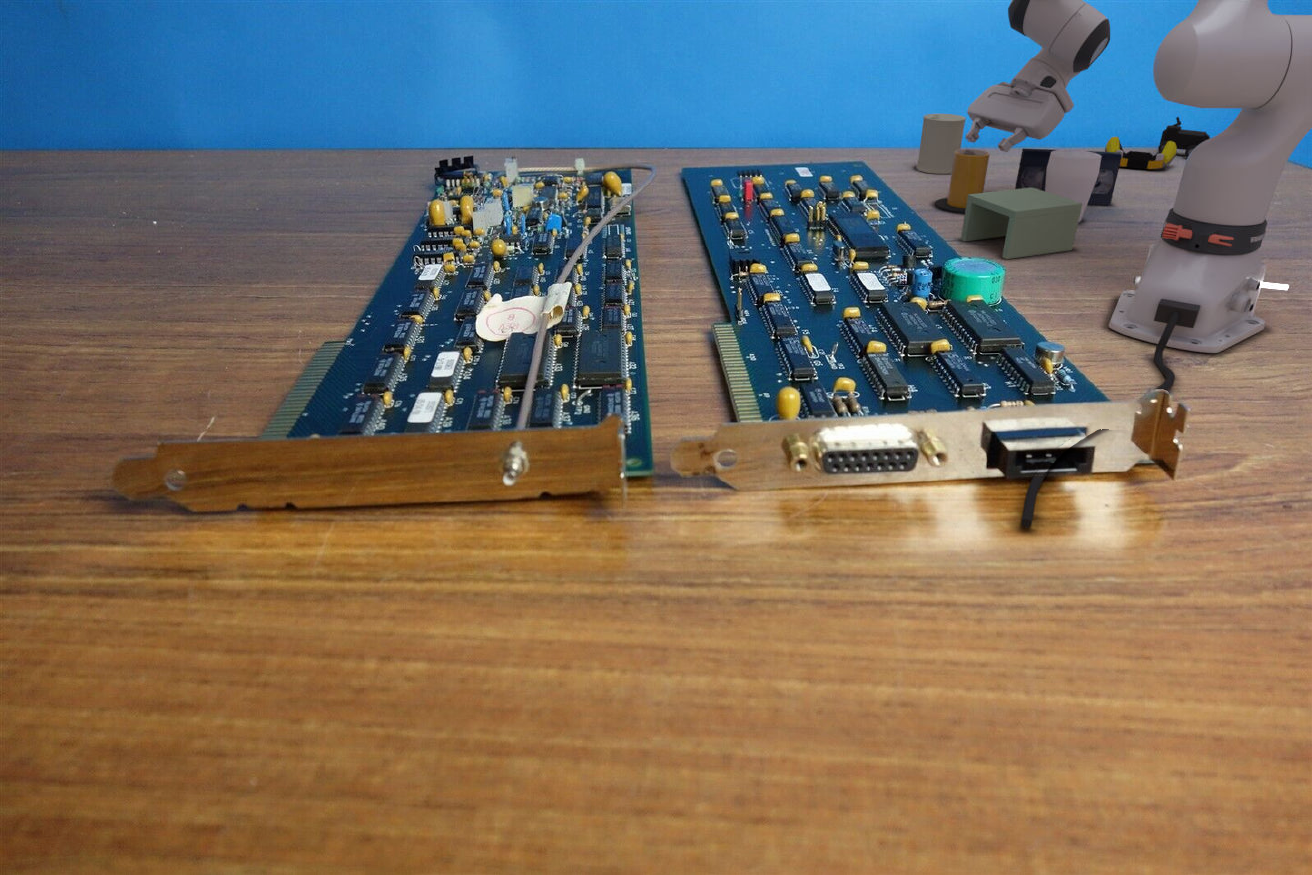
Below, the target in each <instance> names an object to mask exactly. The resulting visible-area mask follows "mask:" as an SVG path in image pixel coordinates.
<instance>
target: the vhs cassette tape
mask: <svg viewBox="0 0 1312 875" xmlns="http://www.w3.org/2000/svg"><path fill="white" fill-rule="evenodd" d="M1055 150H1056V149H1052V148H1051V149H1047V148H1022V149H1021V154H1020V160H1019V166H1018V171H1017V176H1016V182H1015V186H1014V187H1015V188H1014V189H1022V188H1031V187H1032V188H1035V189H1039V190H1042V191H1045V186H1046V170H1047V165H1048V162H1049V158H1050V154H1051V152H1052V151H1055ZM1087 151H1088V152H1093V153H1097V154H1099V155H1101V162H1100V169H1099V174H1098V177H1097V180H1096V182H1095V185H1094V188H1093V190H1092V193H1091V196H1090V198H1089V201H1088V204H1087V206H1088V205H1090V206H1091V205H1092V206H1093V205H1094V206H1110V205H1112V200H1113V196H1114V191H1115V186H1116V182H1117V178H1118V174H1119V171H1120V170H1119V169H1120V167H1119V165H1120V162H1121V157H1122V155H1121V153H1119V152H1116V153H1115V152H1105V151H1098V150H1097V151H1095V150H1094V151H1093V150H1087Z"/></svg>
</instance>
